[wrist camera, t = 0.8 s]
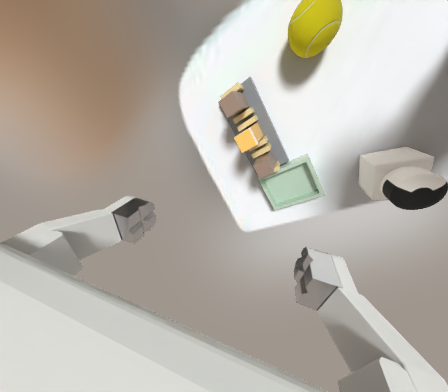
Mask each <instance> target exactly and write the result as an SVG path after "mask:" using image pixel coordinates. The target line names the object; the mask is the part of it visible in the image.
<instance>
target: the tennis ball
mask: <svg viewBox="0 0 448 392" xmlns="http://www.w3.org/2000/svg"><path fill="white" fill-rule="evenodd" d="M341 21H342V3H341V0H302V2H301V3H300V4H299V5H298V7H297V8H296V10H295V12H294V13H293V16H292V18H291V20H290V23H289V27H288V40H289V45H290V47H291V49H292V51H293V52H294V53H295V54H296V55H297V56H299V57H301V58H309V57H312V56H315V55H317V54H318V53H320V52H321V51H322V50H324V49H325V48H326V47H327V46H328V45H329V44H330V42H331V41H332V40H333V38H334V37H335V35H336V34H337V32H338V30H339V28H340V25H341Z"/></svg>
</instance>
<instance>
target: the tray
mask: <svg viewBox="0 0 448 392" xmlns="http://www.w3.org/2000/svg"><path fill="white" fill-rule="evenodd" d="M258 181H259V182H260V184H261V186H262V188H263V190H264V192H265V193H266V195H267V197H268V199H269V201H270V203H271V205H272V206H273V208H274V210H277V209H281V208H284V207H287V206H291V205H294V204H297V203H301V202H304V201H307V200H311V199H314V198H317V197H321V196H324V195H325V194H324V192H323V189H322V187H321V185H320V182H319V180H318V177H317V175H316V173H315V170H314V168H313V165H312V163H311V161H310V158H309V156H308V154H305V155H303V156H301V157H299V158H296V159H294V160H292V161H289V162H287V163H285V164H283V165H280V170H278V171H276V172H274V173H272V174H270V175H267V176H265V177H262V178H259V177H258Z"/></svg>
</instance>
